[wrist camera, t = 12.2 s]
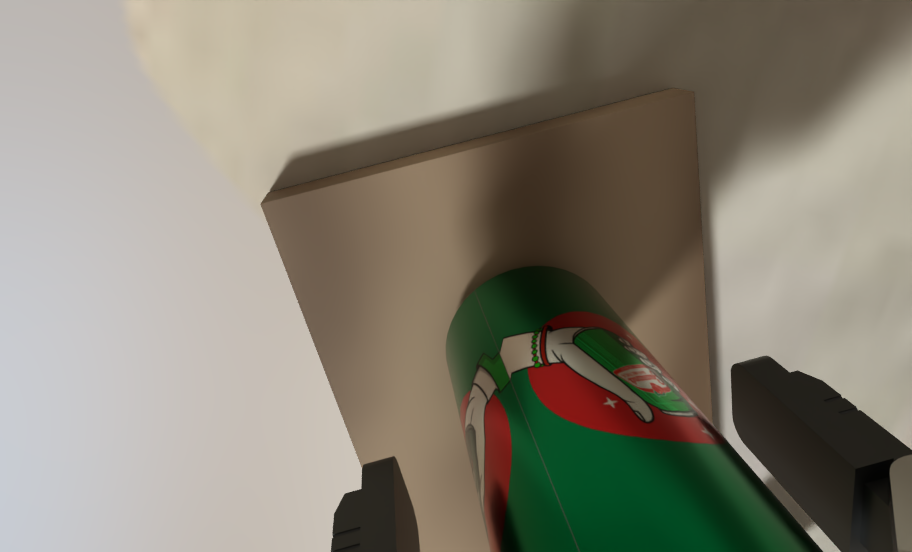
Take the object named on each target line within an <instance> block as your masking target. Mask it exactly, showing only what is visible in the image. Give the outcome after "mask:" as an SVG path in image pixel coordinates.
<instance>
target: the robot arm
mask: <svg viewBox="0 0 912 552" xmlns="http://www.w3.org/2000/svg"><path fill="white" fill-rule="evenodd" d="M731 388H732V415H733V422H734V425H735V428H736V431H737V433H738V435H739V437H740V438H741V440H742V441H743V443H744V444H745V445H746V446H747V447H748V449H749V450H750V451H751V452H752V453H753V454H754V455H755V456H756V457H757V459H758V460H759V461H760V462H761V463H762V464H763V465H764V466H765V467H766V469H767V470H768V471H769V472H770V473H771V474H772V475H773V476H774V477H775V479H776V480H777V481H778V482H779V483H780V484H781V485H782V486H783V487H784V489H785V490H786V491H787V492H788V493H789V494H790V495H791V496H792V497H793V499H794V500H795V501H796V502H797V503H798V504H799V505H800V506H801V507H802V509H803V510H804V511H805V512H806V513H807V514H808V515H809V516H810V517H811V519H812V520H813V521H814V522H815V523H816V524H817V525H818V526H819V527H820V529H821V530H822V531H823V532H824V533H825V534H826V535H827V536H828V537H829V539H830V540H831V541H832V542H833V543H834V544H835V545H836V546H837V547H838V549H839V550H840V551H841V552H912V450H911V449H910V448H908V447H907V446H906V445H905V444H903V443H902V442H901V441H899V440H898V439H897V438H896V437H894V436H893V435H892V434H890V433H889V432H888V431H887V430H885V429H884V428H883V427H881V426H880V425H879V424H878V423H876V422H875V421H874V420H872V419H871V418H870V417H869V416H867V415H866V414H865V413H863V412H862V411H861V410H859V411H858V410H857V408H856V406H854V405H853V404H852V403H850V402H849V401H848V400H847V399H845V398H842V397H841V395H840V394H839V393H838V392H836V391H835V390H834V389H832V388H831V387H830V386H829V385H827V384H826V383H825V382H823V381H822V380H819V379H817V378H814V377H812V376H810V375H807V374H805V373H802V372H800V371H794V372H791V373H789V372H788V371H787V370H786V369H785V368H783V367H782V366H781V365H780V364H778V363H777V362H776V361H775V360H774V359H772V358H771V357H769V356H762V357H758V358H755V359H751V360H747V361H744V362H740V363H736V364H734V365H733V366H732V368H731ZM331 552H420V544H419V533H418V526H417V520H416V516H415V511H414V508H413V504H412V501H411V499H410V496H409V493H408V490H407V487H406V484H405V481H404V479H403V476H402V473H401V470H400V467H399V464H398V462H397V459H396V457H395V456H392V457H389V458H385V459H381V460H378V461H374V462H370V463H367V464H364V465H363V467H362V489H360V490H357V491H353V492H349V493H346V494H345V495H344V496H343V498H342V500H341V502H340V504H339V506H338V508H337V510H336V512H335V513H334V523H333V538H332V546H331Z"/></svg>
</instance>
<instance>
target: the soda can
mask: <svg viewBox="0 0 912 552" xmlns="http://www.w3.org/2000/svg"><path fill="white" fill-rule="evenodd" d="M446 360H447V365H448V369H449V374H450V378H451V382H452V387H453V391H454V395H455V400H456V404H457V408H458V413H459V417H460V421H461V426H462V430H463V434H464V439H465V443H466V447H467V452H468V456H469V460H470V465H471V469H472V473H473V478H474V482H475V486H476V491H477V495H478V499H479V504H480V508H481V512H482V517H483V521H484V525H485V529H486V534H487V538H488V542H489V547H490V551H491V552H823V551H822V550H821V549H820V548H819V546H818V545H817V544H816V543H815V542H814V541H813V539H812V538H811V537H810V536H809V535H808V534H807V533H806V531H805V530H804V529H803V528H802V527H801V526H800V524H799V523H798V522H797V521H796V520H795V519H794V518H793V516H792V515H791V514H790V513H789V512H788V511H787V509H786V508H785V507H784V506H783V505H782V504H781V503H780V501H779V500H778V499H777V498H776V497H775V496H774V494H773V493H772V492H771V491H770V490H769V489H768V488H767V486H766V485H765V484H764V483H763V482H762V481H761V479H760V478H759V477H758V476H757V475H756V474H755V473H754V471H753V470H752V469H751V468H750V467H749V466H748V464H747V463H746V462H745V461H744V460H743V459H742V458H741V456H740V455H739V454H738V453H737V452H736V451H735V449H734V448H733V447H732V446H731V445H730V444H729V443H728V441H727V440H726V439H725V438H724V437H723V436H722V434H721V433H720V432H719V431H718V430H717V429H716V428H715V426H714V425H713V424H712V423H711V422H710V421H709V420H708V418H707V417H706V416H705V415H704V414H703V413H702V411H701V410H700V409H699V408H698V407H697V406H696V405H695V403H694V402H693V401H692V400H691V399H690V398H689V396H688V395H687V394H686V393H685V392H684V391H683V390H682V388H681V387H680V386H679V385H678V384H677V383H676V381H675V380H674V379H673V378H672V377H671V376H670V375H669V373H668V372H667V371H666V370H665V369H664V368H663V366H662V365H661V364H660V363H659V362H658V361H657V360H656V358H655V357H654V356H653V355H652V354H651V353H650V351H649V350H648V349H647V348H646V347H645V346H644V345H643V343H642V342H641V341H640V340H639V339H638V338H637V336H636V335H635V334H634V333H633V332H632V331H631V330H630V328H629V327H628V326H627V325H626V324H625V323H624V321H623V320H622V319H621V318H620V317H619V316H618V315H617V313H616V312H615V311H614V310H613V309H612V308H611V306H610V305H609V304H608V303H607V302H606V301H605V300H604V298H603V297H602V296H601V295H600V294H599V293H598V291H597V290H596V289H595V288H594V287H593V286H592V285H590V284H589V283H588V282H587V281H586V280H584V279H583V278H581V277H580V276H578V275H576V274H574V273H572V272H569V271H567V270H564V269H560V268H556V267H550V266H527V267H521V268H517V269H512V270H509V271H507V272H504V273H501V274H499V275H497V276H495V277H493V278H491V279H489V280H488V281H486V282H484V283H483V284H482V285H480V286H479V287H478V288H477V289H475V290H474V291H473V292H472V293H471V294H470V295H469V296H468V297H467V298H466V299H465V300H464V302H463V303H462V304H461V306H460V307H459V308H458V310H457V312H456V313H455V315H454V317H453V319H452V321H451V324H450V327H449V330H448V333H447V339H446Z"/></svg>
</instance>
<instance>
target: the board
mask: <svg viewBox="0 0 912 552" xmlns="http://www.w3.org/2000/svg"><path fill="white" fill-rule="evenodd" d="M261 207H262V209H263V212H264V214H265V217H266V220H267V222H268V225H269V227H270V230H271V233H272V235H273V238H274V240H275V243H276V245H277V248H278V251H279V253H280V256H281V258H282V261H283V264H284V266H285V269H286V271H287V274H288V277H289V279H290V282H291V285H292V287H293V290H294V292H295V295H296V298H297V300H298V303H299V305H300V308H301V311H302V313H303V316H304V318H305V321H306V324H307V326H308V329H309V331H310V334H311V336H312V339H313V342H314V344H315V347H316V350H317V352H318V355H319V357H320V360H321V362H322V365H323V368H324V370H325V373H326V375H327V378H328V381H329V383H330V386H331V388H332V391H333V393H334V396H335V399H336V402H337V404H338V407H339V409H340V412H341V415H342V417H343V420H344V422H345V425H346V427H347V430H348V433H349V435H350V438H351V441H352V443H353V446H354V448H355V451H356V454H357V456H358V459H359V461H360V464H361V467H363V465H364V464H367V463H370V462H374V461H378V460H381V459H385V458H389V457H392V456H395V457H396V459H397V462H398V464H399V467H400V470H401V473H402V476H403V479H404V481H405V484H406V487H407V490H408V493H409V496H410V499H411V501H412V504H413V508H414V511H415V516H416V520H417V526H418V533H419V544H420V552H491V551H490V547H489V542H488V538H487V534H486V529H485V525H484V521H483V517H482V512H481V508H480V504H479V499H478V495H477V491H476V486H475V482H474V478H473V473H472V469H471V465H470V460H469V456H468V452H467V447H466V443H465V439H464V434H463V430H462V426H461V421H460V417H459V413H458V408H457V404H456V400H455V395H454V391H453V387H452V382H451V378H450V374H449V369H448V365H447V360H446V339H447V333H448V330H449V327H450V324H451V321H452V319H453V317H454V315H455V313H456V312H457V310H458V308H459V307H460V306H461V304H462V303H463V302H464V300H465V299H466V298H467V297H468V296H469V295H470V294H471V293H472V292H473V291H474V290H475V289H477V288H478V287H479V286H480V285H482V284H483V283H484V282H486V281H488V280H489V279H491V278H493V277H495V276H497V275H499V274H501V273H504V272H507V271H509V270H512V269H517V268H521V267H527V266H550V267H556V268H560V269H564V270H567V271H569V272H572V273H574V274H576V275H578V276H580V277H581V278H583V279H584V280H586V281H587V282H588V283H589V284H590V285H592V286H593V287H594V288H595V289H596V290H597V291H598V293H599V294H600V295H601V296H602V297H603V298H604V300H605V301H606V302H607V303H608V304H609V305H610V306H611V308H612V309H613V310H614V311H615V312H616V313H617V315H618V316H619V317H620V318H621V319H622V320H623V321H624V323H625V324H626V325H627V326H628V327H629V328H630V330H631V331H632V332H633V333H634V334H635V335H636V336H637V338H638V339H639V340H640V341H641V342H642V343H643V345H644V346H645V347H646V348H647V349H648V350H649V351H650V353H651V354H652V355H653V356H654V357H655V358H656V360H657V361H658V362H659V363H660V364H661V365H662V366H663V368H664V369H665V370H666V371H667V372H668V373H669V375H670V376H671V377H672V378H673V379H674V380H675V381H676V383H677V384H678V385H679V386H680V387H681V388H682V390H683V391H684V392H685V393H686V394H687V395H688V396H689V398H690V399H691V400H692V401H693V402H694V403H695V405H696V406H697V407H698V408H699V409H700V410H701V411H702V413H703V414H704V415H705V416H706V417H707V418H708V420H709V421H710V422H711V423H712V424H713V420H712V402H711V384H710V366H709V348H708V330H707V312H706V295H705V277H704V259H703V241H702V223H701V205H700V187H699V169H698V151H697V134H696V116H695V98H694V92H693V91H687V90H682V89H676V88H671V89H667V90H663V91H659V92H655V93H652V94H648V95H644V96H640V97H636V98H632V99H628V100H624V101H621V102H617V103H613V104H609V105H605V106H601V107H597V108H594V109H590V110H586V111H582V112H578V113H574V114H570V115H566V116H563V117H559V118H555V119H551V120H547V121H543V122H539V123H536V124H532V125H528V126H524V127H520V128H516V129H512V130H508V131H505V132H501V133H497V134H493V135H489V136H485V137H481V138H478V139H474V140H470V141H466V142H462V143H458V144H454V145H450V146H447V147H443V148H439V149H435V150H431V151H427V152H423V153H420V154H416V155H412V156H408V157H404V158H400V159H396V160H392V161H389V162H385V163H381V164H377V165H373V166H369V167H365V168H362V169H358V170H354V171H350V172H346V173H342V174H338V175H334V176H331V177H327V178H323V179H319V180H315V181H311V182H307V183H304V184H300V185H296V186H292V187H288V188H284V189H280V190H276V191H273V192H269V193H268V194H267V195H266V197H265V198H264V200H263V201H262V203H261Z"/></svg>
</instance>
